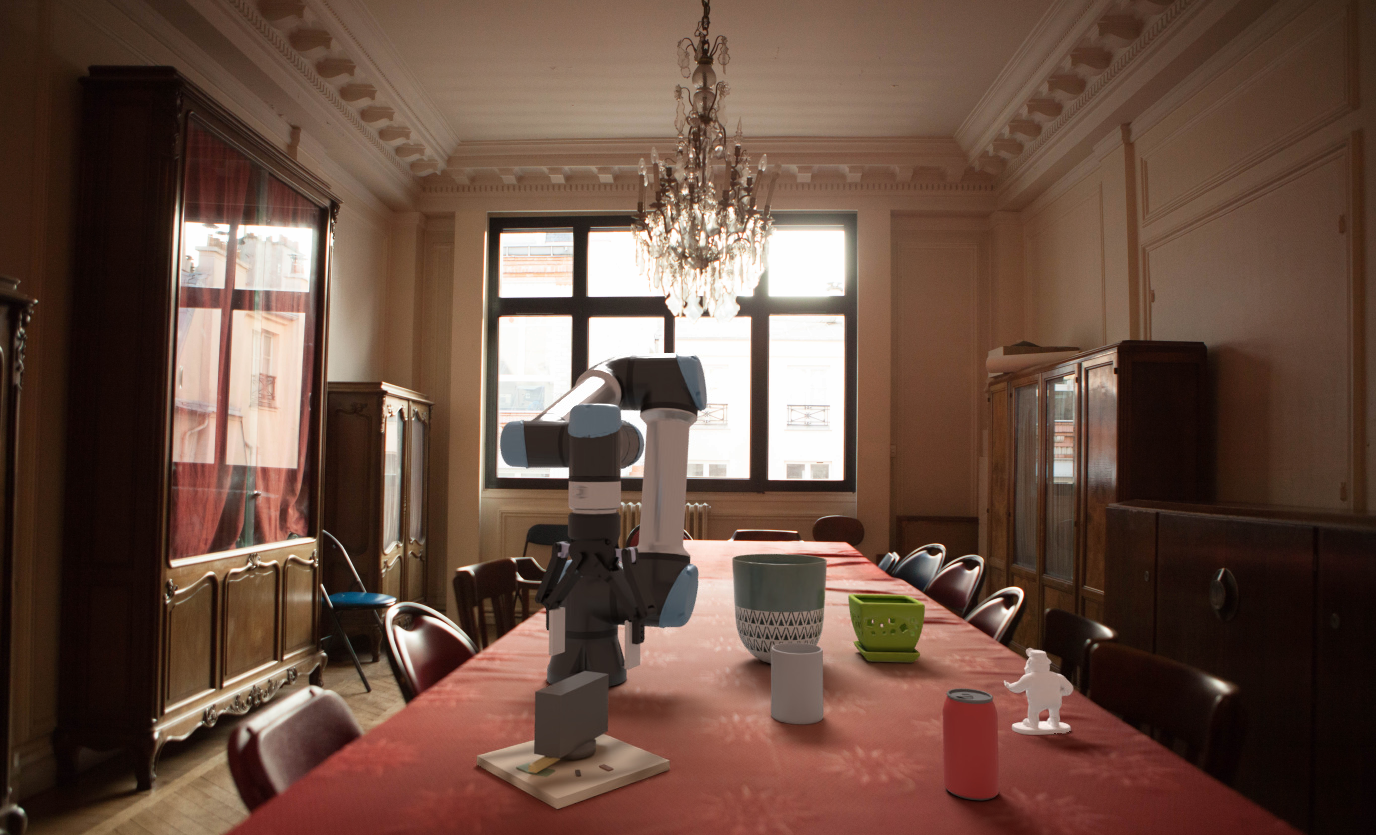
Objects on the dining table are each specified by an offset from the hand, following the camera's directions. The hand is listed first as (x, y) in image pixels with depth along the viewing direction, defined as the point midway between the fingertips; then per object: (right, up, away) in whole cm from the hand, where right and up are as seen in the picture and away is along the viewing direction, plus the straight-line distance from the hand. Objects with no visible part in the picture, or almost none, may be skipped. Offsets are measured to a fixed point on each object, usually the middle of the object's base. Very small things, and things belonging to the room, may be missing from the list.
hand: (593, 660), depth 112 cm
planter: (+33, -17, +52) cm, 64 cm away
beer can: (+49, -13, -14) cm, 52 cm away
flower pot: (+56, -17, +57) cm, 82 cm away
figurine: (+69, -14, +11) cm, 71 cm away
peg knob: (-3, -11, -6) cm, 13 cm away
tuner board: (-2, -12, -7) cm, 14 cm away
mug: (+31, -15, +18) cm, 39 cm away
